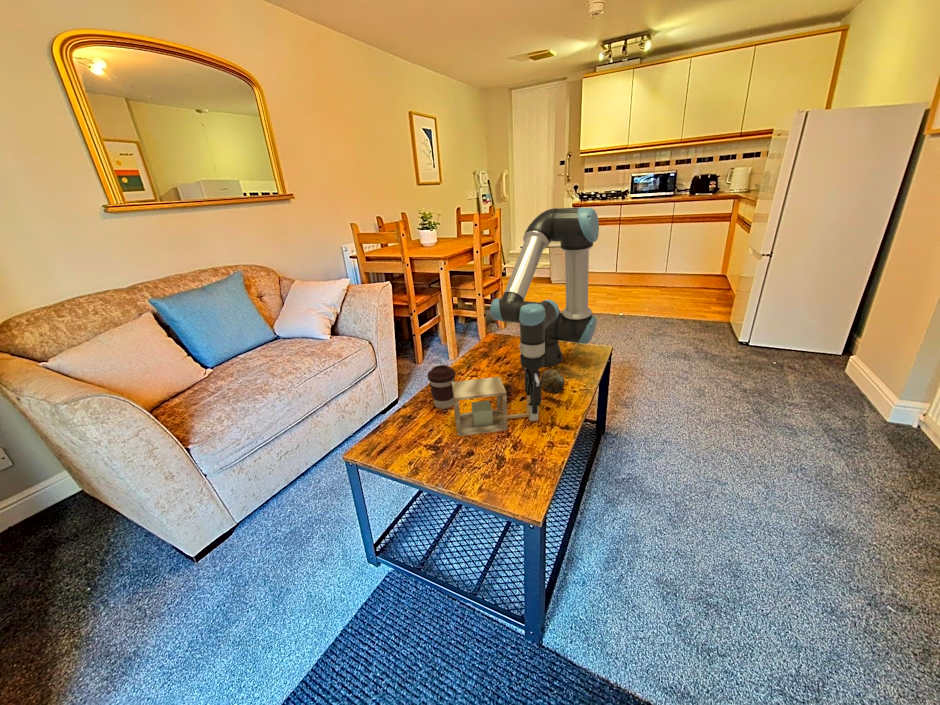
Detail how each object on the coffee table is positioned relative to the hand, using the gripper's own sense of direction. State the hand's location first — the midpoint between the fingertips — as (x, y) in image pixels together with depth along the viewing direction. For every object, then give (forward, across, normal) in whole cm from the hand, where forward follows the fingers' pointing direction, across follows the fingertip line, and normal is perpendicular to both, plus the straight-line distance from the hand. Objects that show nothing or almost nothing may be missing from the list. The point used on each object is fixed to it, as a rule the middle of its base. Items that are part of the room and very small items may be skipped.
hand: (532, 417), depth 132 cm
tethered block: (0, 0, -9) cm, 9 cm away
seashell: (+1, -19, +13) cm, 23 cm away
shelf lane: (+1, 0, -18) cm, 18 cm away
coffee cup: (+1, -16, -29) cm, 33 cm away
